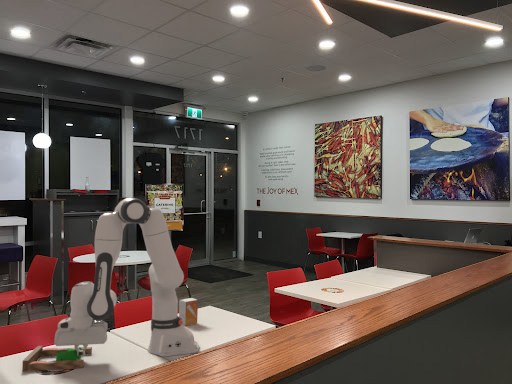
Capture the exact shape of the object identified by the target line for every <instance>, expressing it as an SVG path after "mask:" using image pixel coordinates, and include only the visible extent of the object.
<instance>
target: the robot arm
mask: <svg viewBox="0 0 512 384" xmlns="http://www.w3.org/2000/svg"><path fill="white" fill-rule="evenodd" d="M127 224H133V225H134V224H135V225H136V224H138V225H139V226H140V228H141V231H142V237H143V240H144V245H145V249H146V253H147V255H148V257H149V259H150V262H151V264H150V266H149V268H148V277H149V282H150V292H151V298H152V308H151V309H152V310H151V311H152V315H151V318H150V319H151V320H150V331H151V335H150V340H149V345H148V348H147V352H149V353H150V354H153V355H158V356H159V357H163V358H164V357H171V356H172V357H173V356H180V355H189V354H196V353H197V352H198V351H199V350H200V344H199V342H198V341H196V340H195V336H194V333H193V332H192V331H191V330H190V329H189V328H187V326H184V325H182V324H183V320H182V318H181V317H179V315H178V313H179V311H178V309H179V304H178V302H179V301H178V296H177V292H176V289H178V288H179V287H180V286H181V285H182V284H183V282H184V280H185V279H184V278H185V274H184V271H183V270H182V268H181V265H180V263H179V261H178V258H177V256H176V252H175V250H174V248H173V245H172V240H171V237H170V232H169V228H168V224H167V221H166V218H165V216H164V213H163V212H162V210H160V208H157V207H156V208H155V207H151V208H149V207H148V205H146V203H145V202H144V201H142V200H141V199H139V198H137V197H136V198H135V197H127V198H123V199H121V200H120V201H118V203H117V204H116V206H115V207H114V208H113V210H112V211H111V212H104V213H103V214H101V215H100V216H99V218H98V220H97V224H96V227H95V233H94V257H95V258H94V259H95V260H94V261H95V262H94V263H95V273H94V280H93V281H82V282H79V283H76V284H74V285H73V287H72V289H71V294H70V302H69V303H70V308H71V311H70V315H69V317H66V318H63V319H61V320H60V321H59V322H58V324H57V329H56V331H55V334H54V342H53V343H54V345H55V346H56V347H66V346H69V347H70V346H74V347H73V348H75V349H76V351H77V356H81V357H82V356H86V355H85V350H86V348H87V347H89V345H104V344H105V343H106V342H107V340H108V329H109V327H108V325H109V324H108V322H106V321H105V320H107V319H108V318H110V317H111V315H112V314H113V312H114V308H115V307H116V304H117V302H118V297H117V293H116V292H115V291H114V290H113V289H111V284H112V277H113V276H112V275H113V274H112V273H113V270H114V266H115V264H116V262H117V261H118V259H119V256H120V254H121V250H122V245H123V237H124V236H123V235H124V234H123V232H124V229H125V227H126V225H127ZM93 282H94V283H93ZM80 346H82V347H85V348H84V350H80V349H79V348H78V347H80Z"/></svg>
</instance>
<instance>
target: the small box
mask: <svg viewBox="0 0 512 384" xmlns="http://www.w3.org/2000/svg"><path fill="white" fill-rule="evenodd" d="M178 302H179V304H178V309H179V311H178V317H181V318H182V320H183V324H182V325H183V326H184V327H187V326H192V325H195V324H196V323H197V324H198V314H199V313H198V307H199V306H198V305H199V304H198V303H199V301H198V299H197V298H193V297H190V298H184V299H183V298H182V299H179V301H178ZM197 324H196V325H197Z"/></svg>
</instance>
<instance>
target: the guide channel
mask: <svg viewBox="0 0 512 384" xmlns="http://www.w3.org/2000/svg"><path fill="white" fill-rule="evenodd" d="M43 346H44V345H38V346H36V347H35V348H34V349H33V350H32V351H30V353H28V355H26V357H25V358H24V359H23V360H22V368H21V369H22V372H32V371H33V372H35V371H36V372H37V371H51V370H67V369H69V370H70V369H82V368H84V365H85V360H84V359H78V360H67V361H56V360H54V361H53V360H51V361H47V360H40V361H39V360H38V359H40V358H46V357H56V355H58V352H64V351H68V348H69V347H66V348H65V347H63V348H61V347H60V348H58V347H52V348H51V347H50V348H49V347H48V348H44V347H43ZM80 347H81V346H80ZM70 348H71V349H75V348H74V347H70ZM84 348H85V347H83V346H82V347H81V350H84ZM92 352H93V347H92V346H87V348H86V350H85V355H84V356H86V355H87V354H88V355H91V354H92ZM37 360H38V361H37Z"/></svg>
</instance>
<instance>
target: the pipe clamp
mask: <svg viewBox="0 0 512 384" xmlns="http://www.w3.org/2000/svg"><path fill="white" fill-rule="evenodd" d="M67 348H68V351H64V352H58V355H56V356H55V361H67V360H81V359H82V356H77V351H76V349H71V348H72V347H67ZM78 348H79V349H80V350H81V346H79V347H78Z"/></svg>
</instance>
